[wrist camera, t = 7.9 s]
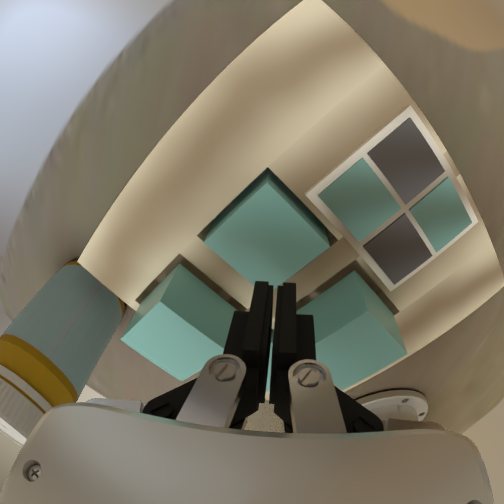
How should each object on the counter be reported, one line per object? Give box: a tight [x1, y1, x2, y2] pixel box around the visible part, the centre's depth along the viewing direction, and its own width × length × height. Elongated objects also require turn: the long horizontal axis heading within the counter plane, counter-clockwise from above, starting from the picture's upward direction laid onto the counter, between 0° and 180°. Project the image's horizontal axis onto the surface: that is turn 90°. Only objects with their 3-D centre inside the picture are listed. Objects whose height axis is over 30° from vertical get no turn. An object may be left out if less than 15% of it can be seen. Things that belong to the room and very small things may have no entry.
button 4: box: [121, 264, 238, 381], centre depth 17 cm, size 5×5×4 cm
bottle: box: [0, 261, 125, 447], centre depth 18 cm, size 7×7×15 cm
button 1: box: [296, 270, 408, 390], centre depth 17 cm, size 5×5×4 cm
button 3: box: [204, 167, 330, 290], centre depth 17 cm, size 5×5×4 cm
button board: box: [77, 0, 504, 401], centre depth 19 cm, size 22×21×4 cm
